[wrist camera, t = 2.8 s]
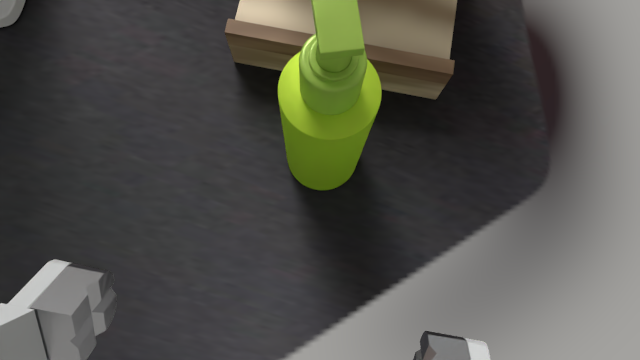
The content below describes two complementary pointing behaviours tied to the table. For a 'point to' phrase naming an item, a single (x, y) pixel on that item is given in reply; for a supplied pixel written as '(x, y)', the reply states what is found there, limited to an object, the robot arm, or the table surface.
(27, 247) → the table surface
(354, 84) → the soap dispenser
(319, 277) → the table surface
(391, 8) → the wall board
